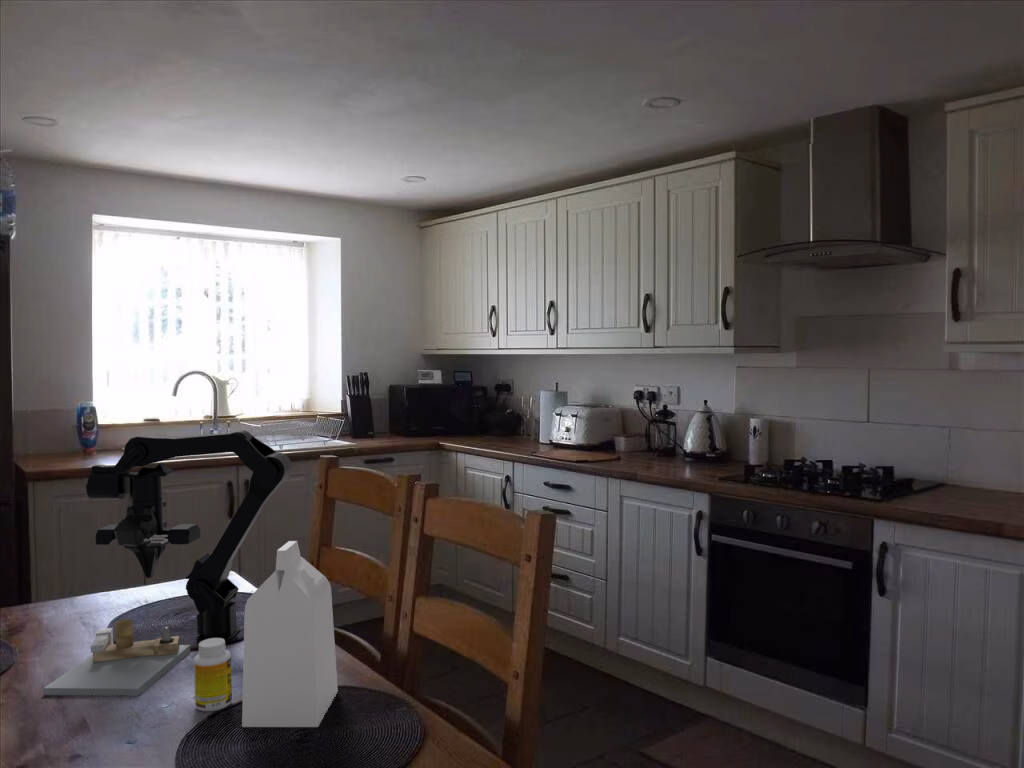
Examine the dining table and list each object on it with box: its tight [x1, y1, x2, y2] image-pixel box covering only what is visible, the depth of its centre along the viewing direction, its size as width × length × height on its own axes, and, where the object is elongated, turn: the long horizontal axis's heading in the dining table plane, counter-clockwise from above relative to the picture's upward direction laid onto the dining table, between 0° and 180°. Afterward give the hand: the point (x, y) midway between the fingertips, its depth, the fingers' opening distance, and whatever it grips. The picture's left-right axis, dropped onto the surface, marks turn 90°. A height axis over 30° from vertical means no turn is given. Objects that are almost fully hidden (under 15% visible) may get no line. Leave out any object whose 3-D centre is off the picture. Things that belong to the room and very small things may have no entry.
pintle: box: [160, 625, 172, 644], centre depth 147 cm, size 2×2×4 cm
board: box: [43, 644, 191, 697], centre depth 141 cm, size 16×19×1 cm
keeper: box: [90, 627, 114, 654], centre depth 145 cm, size 2×8×4 cm, turn 17°
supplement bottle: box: [193, 638, 233, 712], centre depth 127 cm, size 6×6×10 cm
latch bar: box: [92, 618, 181, 662], centre depth 146 cm, size 14×4×6 cm, turn 107°
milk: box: [241, 540, 339, 728], centre depth 125 cm, size 12×12×26 cm
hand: (149, 577), depth 157 cm, fingers closed
